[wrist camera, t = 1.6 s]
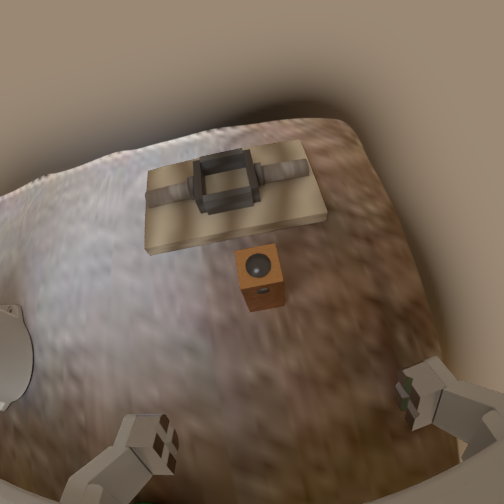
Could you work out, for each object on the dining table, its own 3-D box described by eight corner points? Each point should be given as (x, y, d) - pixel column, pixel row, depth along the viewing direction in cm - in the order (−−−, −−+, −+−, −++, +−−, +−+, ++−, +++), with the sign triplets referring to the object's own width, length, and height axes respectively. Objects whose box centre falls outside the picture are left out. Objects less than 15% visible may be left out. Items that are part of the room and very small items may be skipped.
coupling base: (150, 255, 39) (134, 237, 35) (152, 179, 46) (141, 158, 41) (326, 220, 39) (330, 198, 35) (299, 148, 45) (299, 124, 41)
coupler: (250, 313, 35) (240, 289, 27) (244, 280, 37) (234, 249, 29) (284, 306, 35) (283, 281, 27) (277, 273, 36) (274, 241, 29)
